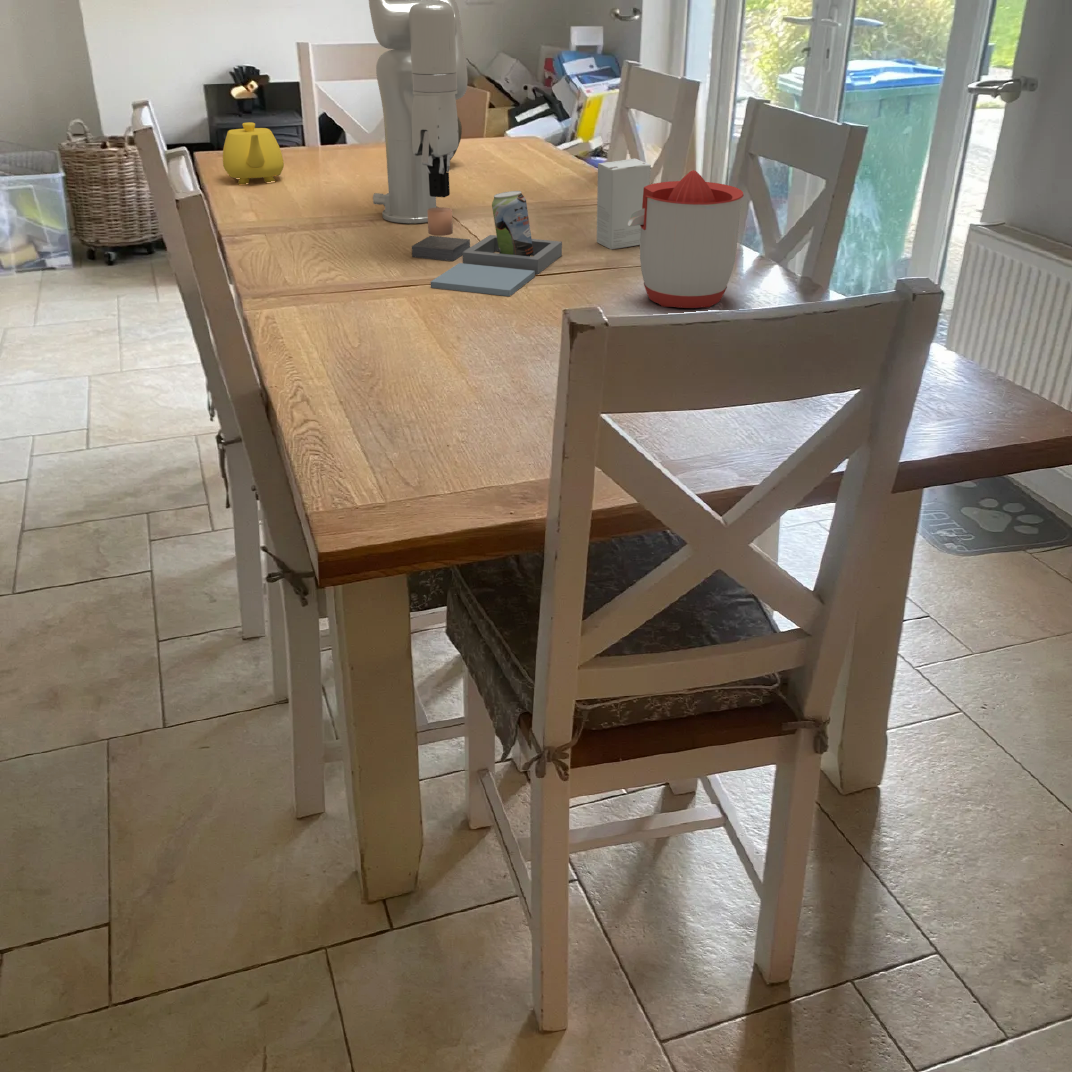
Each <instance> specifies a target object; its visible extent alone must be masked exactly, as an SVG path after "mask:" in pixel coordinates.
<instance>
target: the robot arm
mask: <svg viewBox="0 0 1072 1072" xmlns="http://www.w3.org/2000/svg"><path fill="white" fill-rule="evenodd" d="M368 7H369V13H370V18H371V23H372V29H373V33H374V35H375V39H376V40H377V42H378V44H379V45H380V46H381V47H383V48H385V49H388V50H387V51H385V52H383V53H382V54H380V55H379V58H377V62H376V65H375V68H376V69H375V74H376V80H377V81H376V82H377V84H378V90H379V94H380V100H381V105H382V106H381V107H382V114H383V126H384V138H385V139H384V140H385V141H384V142H385V152H386V153H385V155H386V156H385V157H386V173H387V185H388V186H387V189H388V192H386V193H385V194H384V193H380V192H379V193H376V192H375V193H373V196H372V202H373V204H374V205H378V206H381V205H383V206H384V209H383V210H382V212H381V213H382V214H381V215H382V218H383V220H385V221H387V222H391V223H398V224H425V223H428V212H427V210H428V209H430V208H437V207H438V206H437V198H446V197H449V196H450V194H451V193H450V169H451V166H450V165H451V160H452V159H451V158H453V157H454V156H453V151H455V150H456V149H457V150H458V148H459V146H458V140H459V137H458V117H459V116H458V110H457V108H458V107H457V100H460V99H462V98H463V97H464V96H465V94H466V92H467V90H468V80H469V79H468V68H467V60H466V52H465V46H464V39H463V30H462V23H461V17H460V11H459V7H458V4H457V2H456V0H368ZM457 116H458V117H457ZM457 147H458V148H457ZM450 159H451V160H450Z"/></svg>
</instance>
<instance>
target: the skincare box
mask: <svg viewBox="0 0 1072 1072" xmlns="http://www.w3.org/2000/svg"><path fill="white" fill-rule="evenodd" d="M651 166H652V165H651V164H650V163H648V162H645V161H642V160H640V159H637V158H635V157H634V158H627V159H622V160H615V161H607V162H600V163H597V198H596V200H597V201H596V202H597V204H596V206H597V207H596V243H598V244H599V245H602V246H603V247H606V248H608V249H609V250H615V249H616V250H617V249H622V248H623V249H624V248H627V247H633V246H634V247H635V246H640V235H641V226H640V225H637V226H630V227H629V226H628V222H629V220H630V217H631V215H632V213H634V212H635V211H638V210H641V209H642V203H643V190H644V187H645V186H647V185H650V184H651V183H650V182H651V168H652V167H651Z"/></svg>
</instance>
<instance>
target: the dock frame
mask: <svg viewBox="0 0 1072 1072" xmlns="http://www.w3.org/2000/svg"><path fill="white" fill-rule="evenodd" d="M531 239H532V246H533V254H532V255H531V256H519V255H509V254H499V253H498V252H499V247H498V241H497V235H494V234H489V235H487V236H485V237H484V238H483V239H481V240H480V241H478V242H475V244H473V245H472V246H470V248H468V249H467V250H465V251H464V252H462V256H461V257H462V263H464V264H473V265H483V266H493V267H503V268H512V269H522V270H532V271H535V275H539V274H540V273H541V272H542V271H544V270H546V268H548V267H549V266H550V265H552V263H554V262H555V261H557V260H558V259H559V258H560V257H561V256H562V255H563V250H562V248H563V241H561V240H560V241H559V240H549V239H537V238H531Z"/></svg>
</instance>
